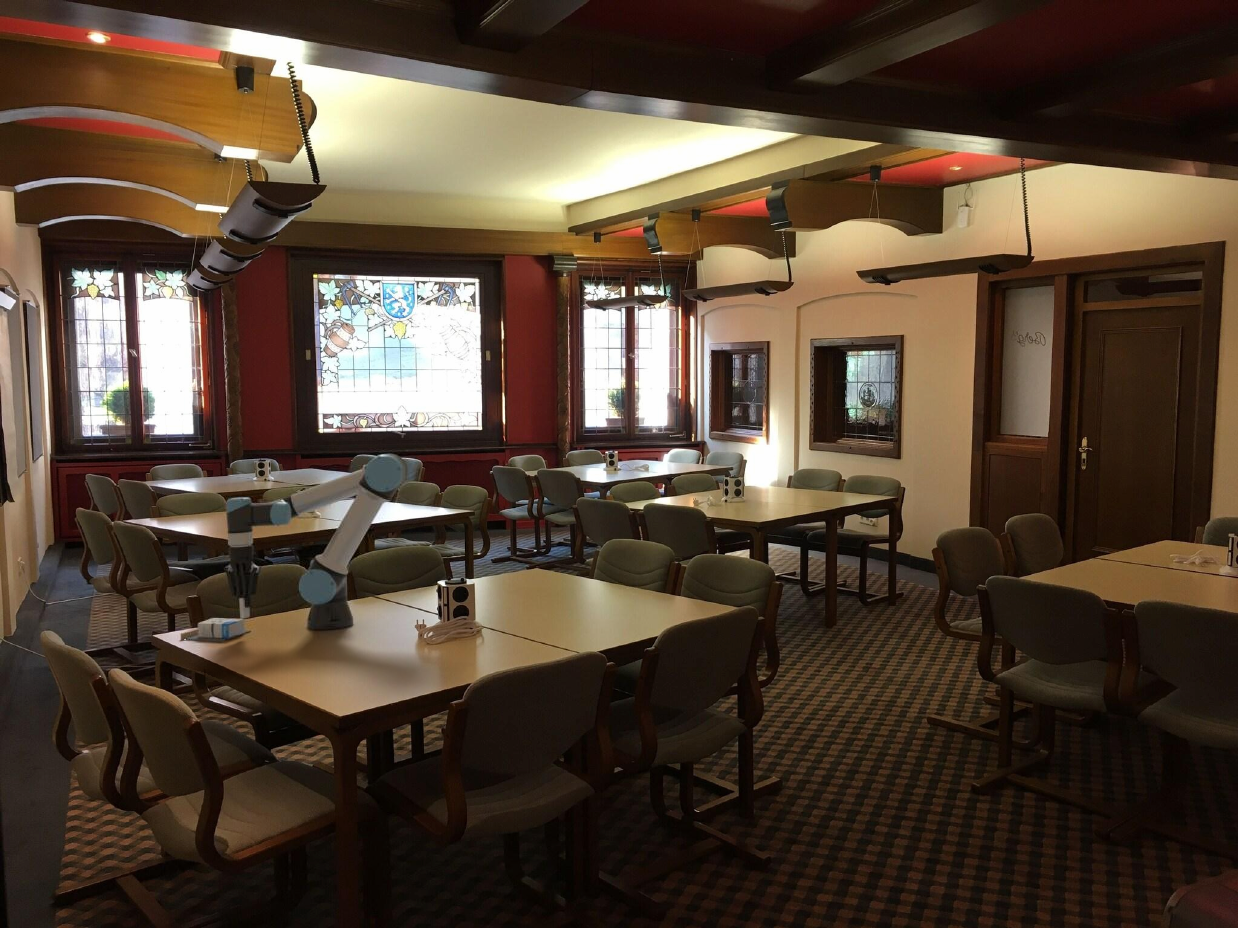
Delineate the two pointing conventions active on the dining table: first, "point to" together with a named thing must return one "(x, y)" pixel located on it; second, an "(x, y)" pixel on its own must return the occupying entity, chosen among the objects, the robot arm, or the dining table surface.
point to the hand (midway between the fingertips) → (245, 617)
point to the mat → (194, 637)
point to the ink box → (221, 628)
